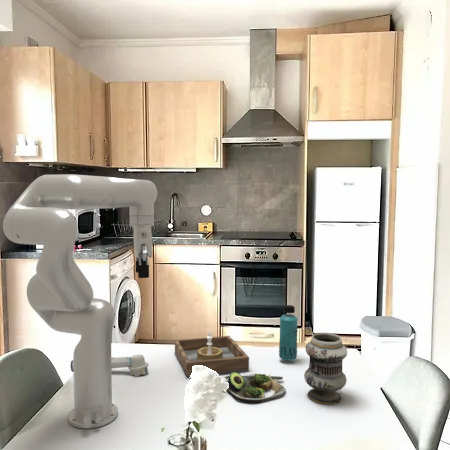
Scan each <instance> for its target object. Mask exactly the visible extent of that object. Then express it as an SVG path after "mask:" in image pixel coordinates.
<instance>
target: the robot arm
mask: <svg viewBox="0 0 450 450" xmlns="http://www.w3.org/2000/svg"><path fill="white" fill-rule="evenodd" d="M157 198H158V188H157V186H156V184H155V183H154V182H153V181H151V180H147V179H136V178H135V179H133V178H120V177H113V176H101V175H88V174H86V175H85V174H73V173H72V174H71V173H70V174H66V173H65V174H43V175H41V176H39V177H37V178H36V179H34V180H33V181H32V182H31V183H30V184H29V185H28V186H27V187H26V188H25V190H24V191H22V193H21V194H20V196H19V197H18V198H16V201H14V203H13V204H12V205H11V207H10V208H9V209H8V210H7V212H6V214H5V216H4V219H3V220H2V221H3V223H2V230H3V233H4V235H5V237H6V238H7V239H8V240H9V241H11V242H12V243H15V244H19V245H32V246H33V245H34V246H35V245H37V246H43V247H42V250H41V253H40V256H39V259H38V261H37V263H36V267H35V271H36V273H35V274H34V275H32V276H31V278H30V279H29V281H28V283H27V286H26V298H27V301H28V303H29V305H30V307H31V309H33V311H35V313H36V314H37V315H38V316H39V317H40V318H41V319H42V321H44V322H45V323H46V325H48V326H49V327H50V329H52V330H54V331H56V332H60V333H66V334H72V335H73V334H74V335H79V336H80V340H79V341H78V343H77V344H76V345H75V348H74V350H73V357H72V358H73V359H72V360H73V361H74V372H73V399H74V400H73V403H74V404H73V405H74V406H73V408H72V409H71V411H69V413H68V417H67V418H68V419H67V420H68V423H69V424H70V425H71V426H73V427H75V428H79V429H94V428H95V429H96V428H99V427H103V426H106V425H108V424H110V423H112V422H113V421H114V420H115V419H116V418H117V417H118V415H119V408H118V407H117V405H116V404H114V403H113V396H112V395H113V393H112V392H113V391H112V390H113V389H112V388H113V387H112V386H113V383H112V380H113V379H112V377H113V376H112V373H113V372H112V369H113V368H112V367H111V358H112V339H113V331H114V330H113V329H114V325H115V319H116V312H115V308H114V306H113V304H111V302H109V301H108V300H105V299H102V298H95V297H94V290H93V287H92V285H91V283H90V281H89V280H88V279H87V277H86V276H85V275H84V273H83V272H82V270H81V269H80V268H79V265H78V264H77V263H76V260H74V249H75V244H76V239H77V234H78V222H77V219H76V217H75V216H74V214H73V213H72V212H71V211H70V210H92V209H95V210H97V209H99V210H100V209H118V208H128V207H129V227H133V250H134V256H135V273H136V274H138V275H137V276H138V279H147V278H149V277H150V264H149V258H150V259H151V258H153V244H152V243H153V240H152V239H153V238H152V237H153V235H152V227H154V225H155V208H154V207H155V206H154V204H155V202H156V200H157Z"/></svg>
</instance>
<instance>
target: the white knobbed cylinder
mask: <svg viewBox="0 0 450 450" xmlns="http://www.w3.org/2000/svg"><path fill="white" fill-rule="evenodd" d="M69 365H70V371H71V372H72V373H74V361H73V359H72V360H71V361H70V364H69ZM111 367H112V369H120V368H128V370H129V371H130V372H129V373H130V376H135V377H140V376H141V375H144V376H145V375H146V374H148V372H149V371H148V369H149V368H148V367H149V363H148V362H146V360H145V356H144V355H143V354H139V353H138V354H134V355H131V356H124V357H123V356H121V357H111Z"/></svg>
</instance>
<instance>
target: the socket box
mask: <svg viewBox="0 0 450 450" xmlns="http://www.w3.org/2000/svg"><path fill="white" fill-rule="evenodd" d="M207 343H208V340H207V337H198V338H188V339H185V338H184V339H177V340H174V355H175V357H176V359H177V362H178V363H179V366H180V367H181V369H182V372H183V374H184V376H185V378H186V379H187V378H189V377H190V375H191V373H192V366H194V365H203V366H206V367H208V368H210V369H212V370H214V371H216V372H217V373H218V374H219V375H218V376H225V375H230V374H231V373H232V372H237V373H239V374H241V373H248V372H249V371H250V357H249V356H248V354H247V353H246V352H245V351H244V350H243V348H241V346H240V345H238V344H237V343H236V341H235V340H234V339H233V338H232V337H231V335H222V336H212V341H211V343H212V345H211V351H212V354H210V355H208V354H207V351H208V345H207ZM189 379H190V378H189Z"/></svg>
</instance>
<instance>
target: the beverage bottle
mask: <svg viewBox="0 0 450 450" xmlns="http://www.w3.org/2000/svg"><path fill="white" fill-rule="evenodd" d="M295 310H296V308H295V306H294V305H290V304H285V305H283V308H282V312H283V313H284V314H282V315H281V316H280V317H279V343H278V344H279V347H278V356H279V358H280V359H281V360H283V361H294V360H296V359H297V357H298V333H299V332H298V320H299V319H298V317H297V316H296V315H295V314H294V313H295V312H296V311H295Z"/></svg>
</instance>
